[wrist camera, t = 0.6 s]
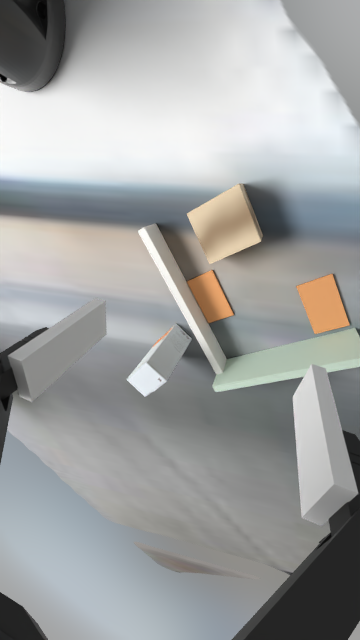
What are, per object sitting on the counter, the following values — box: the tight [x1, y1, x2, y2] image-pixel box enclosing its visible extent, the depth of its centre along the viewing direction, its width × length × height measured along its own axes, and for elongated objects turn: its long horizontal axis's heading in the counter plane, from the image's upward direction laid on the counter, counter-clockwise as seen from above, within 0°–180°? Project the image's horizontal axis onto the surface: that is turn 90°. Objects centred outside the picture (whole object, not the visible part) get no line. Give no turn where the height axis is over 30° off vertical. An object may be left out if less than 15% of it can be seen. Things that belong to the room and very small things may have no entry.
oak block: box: [187, 184, 263, 264], centre depth 33 cm, size 7×7×4 cm
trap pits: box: [187, 270, 349, 334], centre depth 38 cm, size 15×19×1 cm
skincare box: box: [127, 324, 192, 397], centre depth 42 cm, size 6×4×12 cm
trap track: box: [138, 224, 360, 392], centre depth 34 cm, size 27×21×7 cm
